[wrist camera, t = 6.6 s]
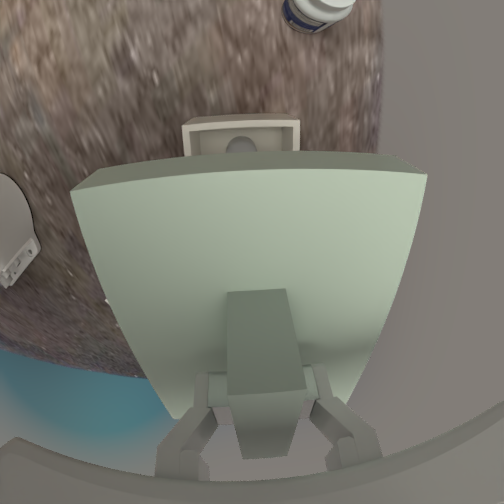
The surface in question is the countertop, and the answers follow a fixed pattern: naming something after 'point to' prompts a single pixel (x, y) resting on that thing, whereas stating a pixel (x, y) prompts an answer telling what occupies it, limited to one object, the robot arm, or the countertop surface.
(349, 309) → the lid
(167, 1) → the countertop surface
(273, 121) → the storage box
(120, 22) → the countertop surface
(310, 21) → the pill bottle
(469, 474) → the robot arm
